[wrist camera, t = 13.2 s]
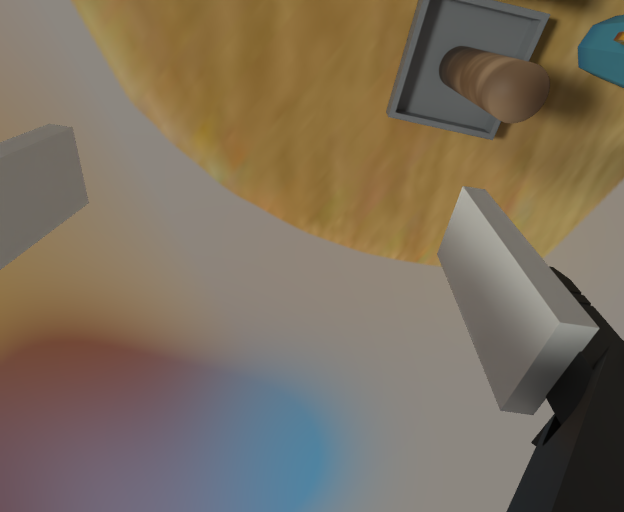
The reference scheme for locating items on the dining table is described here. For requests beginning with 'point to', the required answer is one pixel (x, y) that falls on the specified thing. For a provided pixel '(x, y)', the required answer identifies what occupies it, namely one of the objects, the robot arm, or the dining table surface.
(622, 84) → the cup
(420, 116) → the tray
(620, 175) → the dining table surface
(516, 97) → the dowel
